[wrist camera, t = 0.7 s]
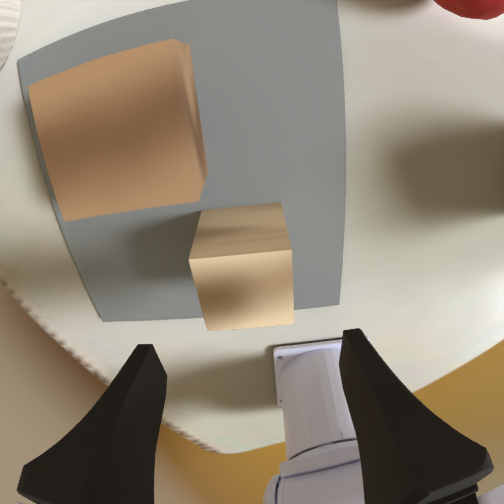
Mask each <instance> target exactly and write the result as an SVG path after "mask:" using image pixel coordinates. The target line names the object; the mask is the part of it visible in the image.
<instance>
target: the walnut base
mask: <svg viewBox="0 0 504 504" xmlns="http://www.w3.org/2000/svg"><path fill="white" fill-rule="evenodd" d="M28 90H29V96H30V101H31V106H32V111H33V116H34V120H35V124H36V129H37V133H38V137H39V141H40V145H41V149H42V153H43V156H44V160H45V163H46V167H47V170H48V174H49V177H50V180H51V184H52V187H53V190H54V193H55V196H56V199H57V202H58V205H59V208H60V211H61V214H62V216H63V219H64V222H65V221H71V220H76V219H82V218H88V217H94V216H100V215H106V214H112V213H119V212H125V211H132V210H139V209H145V208H152V207H160V206H167V205H174V204H182V203H190V202H198V201H199V199H200V196H201V193H202V190H203V187H204V184H205V181H206V178H207V175H208V166H207V160H206V153H205V147H204V141H203V134H202V128H201V121H200V114H199V107H198V101H197V94H196V87H195V80H194V72H193V65H192V58H191V50H190V45H189V44H186V43H183V42H181V41H178V40H175V39H169V40H164V41H160V42H155V43H151V44H147V45H143V46H139V47H135V48H131V49H128V50H124V51H121V52H117V53H114V54H111V55H108V56H104V57H101V58H98V59H95V60H92V61H89V62H86V63H84V64H81V65H78V66H75V67H73V68H70V69H67V70H65V71H62V72H60V73H57V74H55V75H52V76H50V77H48V78H45V79H43V80H41V81H38V82H36V83H34V84H32V85H30V86H28Z"/></svg>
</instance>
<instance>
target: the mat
mask: <svg viewBox="0 0 504 504" xmlns="http://www.w3.org/2000/svg"><path fill="white" fill-rule="evenodd" d="M169 39H175V40H178V41H181V42H183V43H186V44H189V45H190V50H191V58H192V65H193V72H194V80H195V87H196V94H197V101H198V107H199V114H200V121H201V128H202V134H203V141H204V147H205V153H206V160H207V166H208V175H207V178H206V181H205V184H204V187H203V190H202V193H201V196H200V199H199V201H198V202H190V203H182V204H174V205H167V206H160V207H152V208H145V209H139V210H132V211H125V212H119V213H112V214H106V215H100V216H94V217H88V218H82V219H76V220H71V221H65V222H64V219H63V216H62V214H61V211H60V208H59V205H58V202H57V199H56V196H55V193H54V190H53V187H52V184H51V180H50V177H49V174H48V170H47V167H46V163H45V160H44V156H43V153H42V149H41V145H40V141H39V137H38V133H37V129H36V124H35V120H34V116H33V111H32V106H31V101H30V96H29V90H28V86H30V85H32V84H34V83H36V82H38V81H41V80H43V79H45V78H48V77H50V76H52V75H55V74H57V73H60V72H62V71H65V70H67V69H70V68H73V67H75V66H78V65H81V64H84V63H86V62H89V61H92V60H95V59H98V58H101V57H104V56H108V55H111V54H114V53H117V52H121V51H124V50H128V49H131V48H135V47H139V46H143V45H147V44H151V43H155V42H160V41H164V40H169ZM18 66H19V73H20V79H21V85H22V91H23V96H24V101H25V106H26V111H27V116H28V120H29V125H30V129H31V133H32V137H33V141H34V145H35V149H36V153H37V156H38V160H39V164H40V167H41V170H42V174H43V177H44V180H45V183H46V187H47V190H48V193H49V196H50V199H51V202H52V205H53V208H54V210H55V213H56V216H57V219H58V222H59V224H60V227H61V230H62V232H63V235H64V237H65V240H66V242H67V245H68V247H69V250H70V252H71V255H72V257H73V260H74V262H75V264H76V267H77V269H78V271H79V273H80V276H81V278H82V280H83V282H84V284H85V287H86V289H87V291H88V293H89V295H90V297H91V299H92V301H93V303H94V306H95V308H96V310H97V312H98V314H99V316H100V318H101V319H102V321H103V322H112V321H145V320H168V319H187V318H204V316H203V313H202V309H201V306H200V302H199V298H198V294H197V291H196V287H195V283H194V279H193V275H192V271H191V267H190V263H189V256H190V252H191V248H192V244H193V241H194V237H195V233H196V229H197V226H198V222H199V218H200V215H201V211H202V210H210V209H218V208H228V207H237V206H247V205H257V204H267V203H278V202H281V205H282V209H283V213H284V218H285V222H286V226H287V231H288V235H289V240H290V244H291V249H292V268H293V297H294V310H298V309H307V308H316V307H325V306H333V305H339V300H340V288H341V275H342V261H343V244H344V222H345V187H346V134H345V100H344V80H343V64H342V50H341V38H340V28H339V18H338V9H337V0H189V1H184V2H179V3H174V4H170V5H165V6H161V7H157V8H152V9H149V10H145V11H141V12H137V13H134V14H130V15H127V16H123V17H120V18H117V19H114V20H111V21H108V22H105V23H102V24H99V25H96V26H93V27H91V28H88V29H85V30H83V31H80V32H77V33H75V34H72V35H70V36H68V37H65V38H63V39H60V40H58V41H56V42H54V43H51V44H49V45H47V46H45V47H43V48H41V49H39V50H36V51H34V52H32V53H30V54H28V55H26V56H25V57H23V58H21V59H19V60H18Z"/></svg>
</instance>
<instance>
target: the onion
mask: <svg viewBox="0 0 504 504" xmlns="http://www.w3.org/2000/svg"><path fill="white" fill-rule="evenodd" d="M434 1H435V2H436V3H437V4H438V5H440V6H441V7H442V8H444V9H446V10H448V11H450V12H452V13H454V14H456V15H458V16H460V17H466V18H472V19H483V20H488V19H492V18H496V17H497V16H499V15H501V14H503V13H504V0H434Z"/></svg>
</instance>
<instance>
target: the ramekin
mask: <svg viewBox="0 0 504 504" xmlns="http://www.w3.org/2000/svg"><path fill="white" fill-rule="evenodd" d="M20 17H21V0H0V70H1V68H2V66H3V65H4V63H5V61H6V59H7V57H8V55H9V53H10V51H11V49H12V46H13V44H14V41H15V38H16V35H17V32H18V28H19V23H20Z"/></svg>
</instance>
